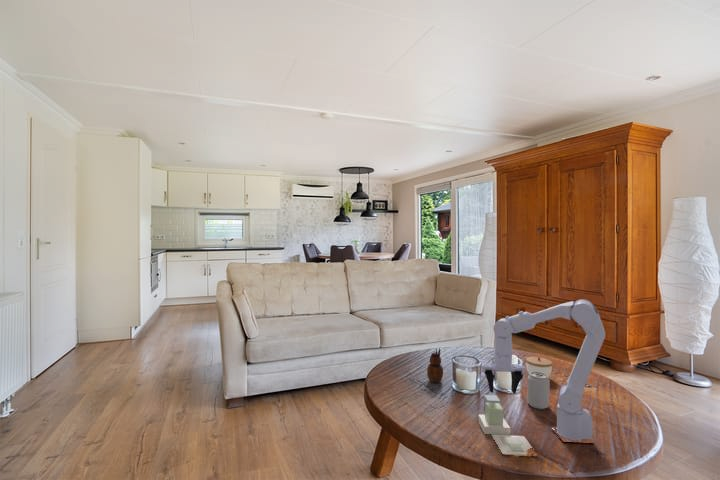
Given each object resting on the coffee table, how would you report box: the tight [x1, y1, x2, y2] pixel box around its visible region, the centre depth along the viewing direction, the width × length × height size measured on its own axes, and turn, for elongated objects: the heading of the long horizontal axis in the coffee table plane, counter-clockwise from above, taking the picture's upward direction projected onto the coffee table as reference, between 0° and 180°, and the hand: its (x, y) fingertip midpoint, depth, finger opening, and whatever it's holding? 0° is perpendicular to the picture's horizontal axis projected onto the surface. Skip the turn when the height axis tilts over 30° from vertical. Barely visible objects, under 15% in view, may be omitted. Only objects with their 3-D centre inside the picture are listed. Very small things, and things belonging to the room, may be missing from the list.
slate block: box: [483, 394, 501, 410], centre depth 132 cm, size 4×4×5 cm
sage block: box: [484, 402, 505, 425], centre depth 120 cm, size 4×4×5 cm
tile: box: [491, 434, 533, 455], centre depth 110 cm, size 10×10×1 cm
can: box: [526, 372, 551, 410], centre depth 136 cm, size 8×8×12 cm
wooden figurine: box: [426, 347, 444, 384], centre depth 158 cm, size 7×6×15 cm
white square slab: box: [477, 413, 511, 436], centre depth 120 cm, size 8×8×3 cm
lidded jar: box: [525, 356, 553, 378], centre depth 164 cm, size 11×11×9 cm
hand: (502, 391), depth 126 cm, fingers open, 7 cm apart
